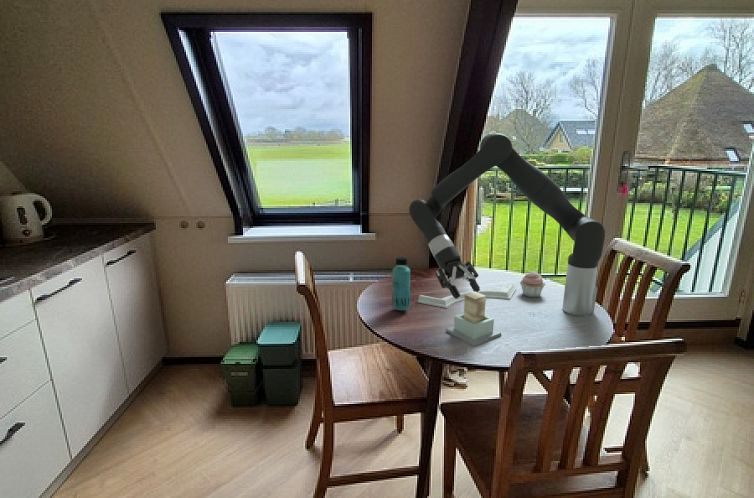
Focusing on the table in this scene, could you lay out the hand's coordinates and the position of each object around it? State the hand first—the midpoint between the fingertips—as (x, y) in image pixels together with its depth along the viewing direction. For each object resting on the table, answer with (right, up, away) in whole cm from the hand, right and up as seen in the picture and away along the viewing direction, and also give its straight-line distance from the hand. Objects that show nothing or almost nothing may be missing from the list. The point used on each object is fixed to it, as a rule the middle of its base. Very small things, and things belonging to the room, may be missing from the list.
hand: (468, 294), depth 129 cm
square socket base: (+2, -12, +1) cm, 13 cm away
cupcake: (+32, -4, +32) cm, 45 cm away
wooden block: (+2, -12, +1) cm, 12 cm away
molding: (+7, -5, +31) cm, 32 cm away
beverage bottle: (-20, -8, +19) cm, 28 cm away
